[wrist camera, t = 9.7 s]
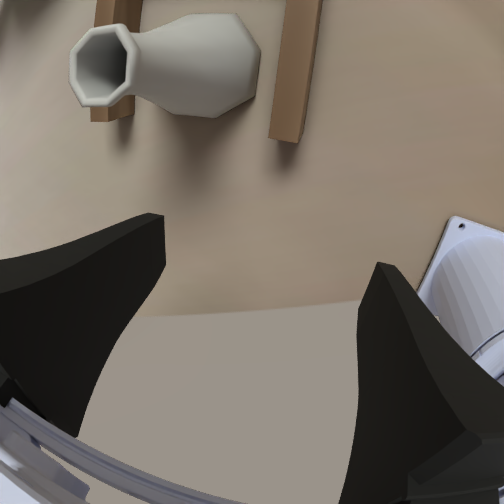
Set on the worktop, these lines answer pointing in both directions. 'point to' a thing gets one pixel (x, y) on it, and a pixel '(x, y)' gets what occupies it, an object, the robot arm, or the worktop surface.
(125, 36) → the flask
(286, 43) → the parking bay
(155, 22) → the worktop surface
